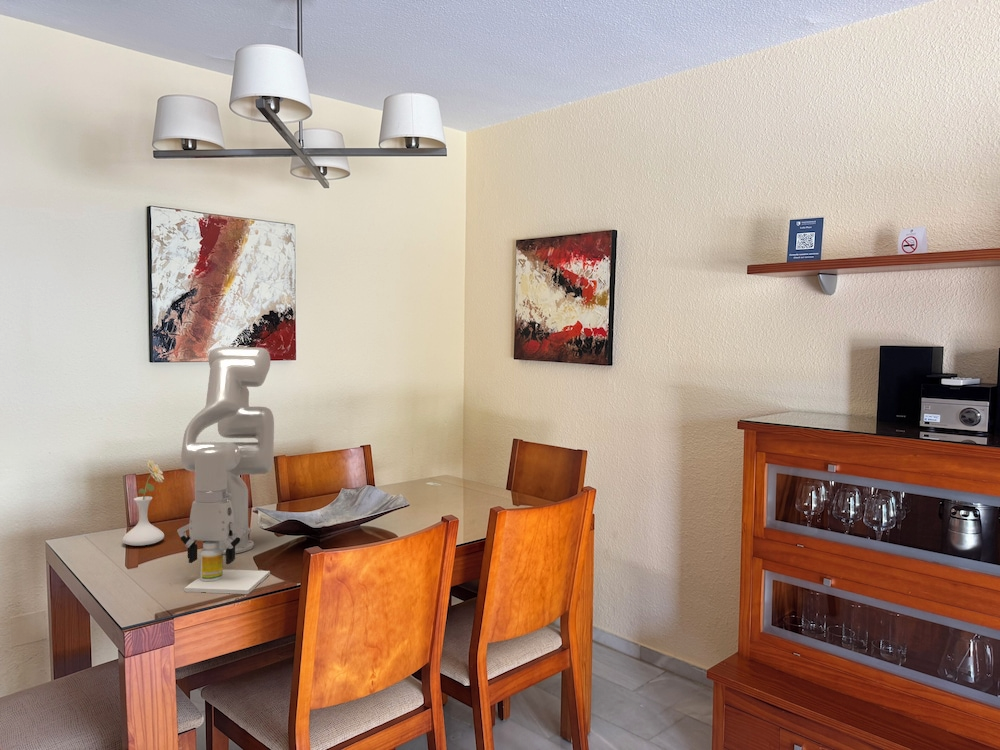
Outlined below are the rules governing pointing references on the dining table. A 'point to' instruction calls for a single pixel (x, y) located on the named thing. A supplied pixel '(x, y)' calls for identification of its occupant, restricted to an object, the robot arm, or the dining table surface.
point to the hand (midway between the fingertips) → (211, 562)
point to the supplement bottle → (211, 561)
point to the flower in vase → (145, 514)
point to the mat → (230, 582)
